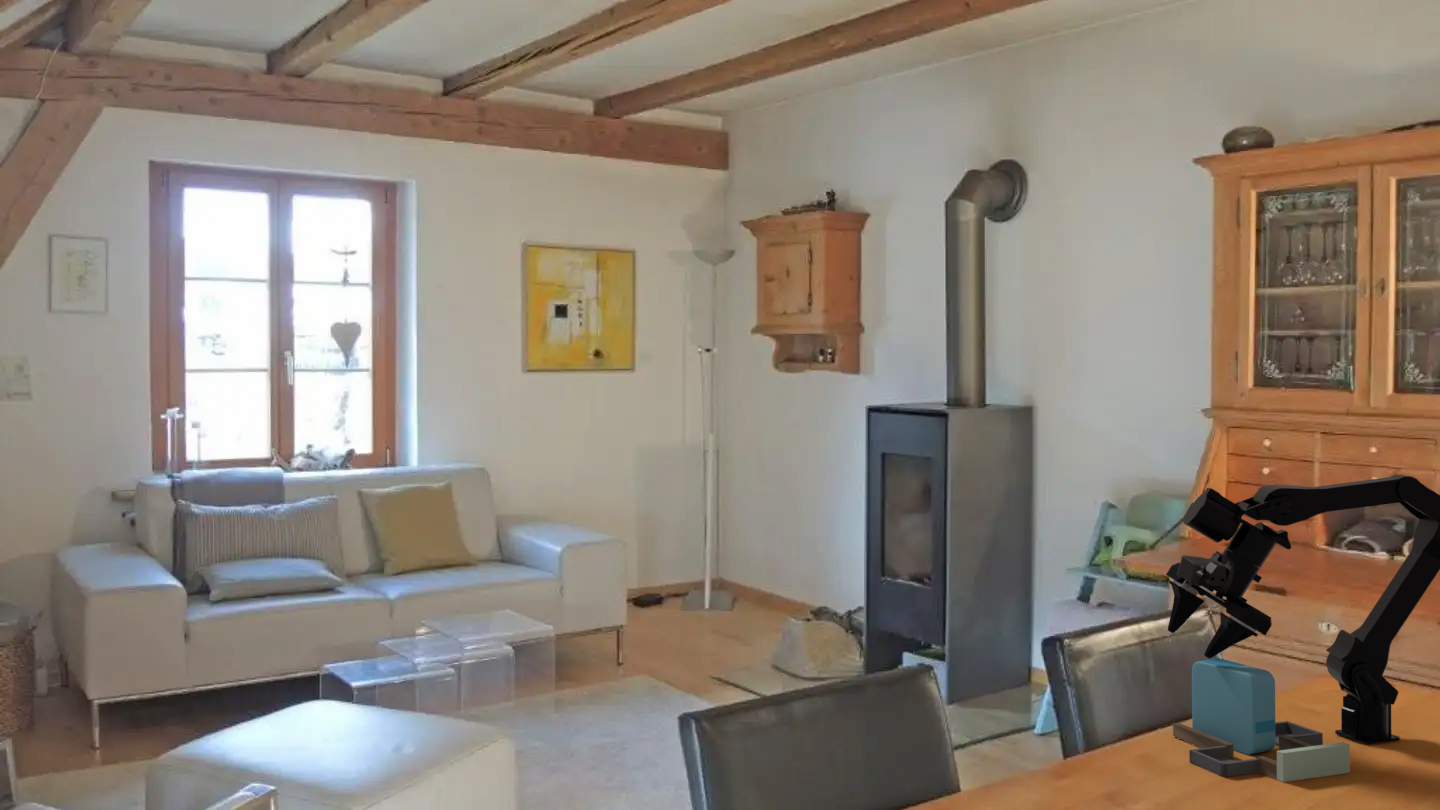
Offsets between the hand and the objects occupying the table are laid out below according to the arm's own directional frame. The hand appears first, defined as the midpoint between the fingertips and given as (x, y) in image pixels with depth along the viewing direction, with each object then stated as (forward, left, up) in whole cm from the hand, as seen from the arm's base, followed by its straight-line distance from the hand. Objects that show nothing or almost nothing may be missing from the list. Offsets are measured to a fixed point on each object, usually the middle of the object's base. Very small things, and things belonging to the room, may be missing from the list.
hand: (1188, 644), depth 196 cm
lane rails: (-3, +11, -14) cm, 18 cm away
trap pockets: (-3, +11, -14) cm, 18 cm away
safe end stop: (-3, +22, -14) cm, 27 cm away
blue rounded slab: (-3, +6, -14) cm, 16 cm away
